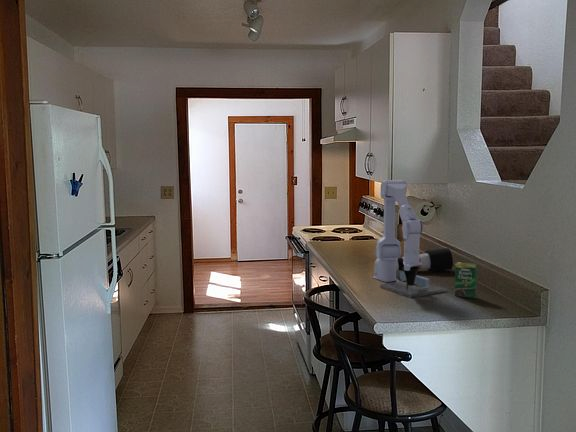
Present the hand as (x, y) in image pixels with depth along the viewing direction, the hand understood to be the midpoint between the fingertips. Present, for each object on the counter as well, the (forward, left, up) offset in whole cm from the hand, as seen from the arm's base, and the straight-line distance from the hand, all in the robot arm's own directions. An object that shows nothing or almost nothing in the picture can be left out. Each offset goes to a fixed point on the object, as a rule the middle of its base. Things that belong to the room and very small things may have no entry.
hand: (410, 285), depth 208 cm
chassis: (-6, +7, -4) cm, 10 cm away
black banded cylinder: (-31, +31, -4) cm, 43 cm away
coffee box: (+12, +17, -4) cm, 21 cm away
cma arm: (-6, +6, -1) cm, 9 cm away
